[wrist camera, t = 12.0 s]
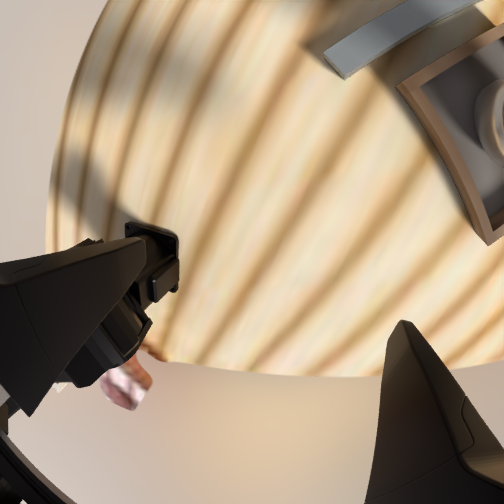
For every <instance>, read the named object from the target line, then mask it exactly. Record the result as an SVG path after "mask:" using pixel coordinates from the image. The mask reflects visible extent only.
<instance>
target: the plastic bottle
mask: <svg viewBox="0 0 504 504" xmlns="http://www.w3.org/2000/svg"><path fill="white" fill-rule="evenodd" d="M474 120H475V126H476V131H477V134H478V137H479V140H480V142H481V144H482V146H483V148H484V150H485V151H486V153H487V154H488V155H489V157H490V158H491V159H492V160H493V161H494V162H496V163H497V164H498V165H499V166H501V167H502V168H503V169H504V79H500V80H496V81H494V82H492V83H491V84H489V85H488V86H486V87H485V88H483V89H482V90H481V92H480V93H479V95H478V97H477V99H476V103H475V108H474Z"/></svg>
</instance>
